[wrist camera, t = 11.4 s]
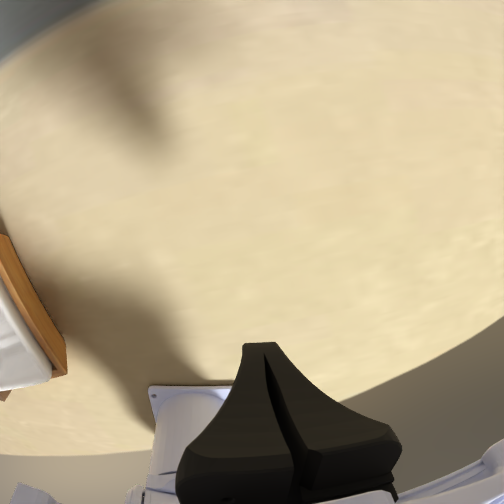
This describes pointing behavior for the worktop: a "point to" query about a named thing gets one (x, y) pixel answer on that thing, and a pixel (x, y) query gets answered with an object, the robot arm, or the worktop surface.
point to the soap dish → (25, 329)
